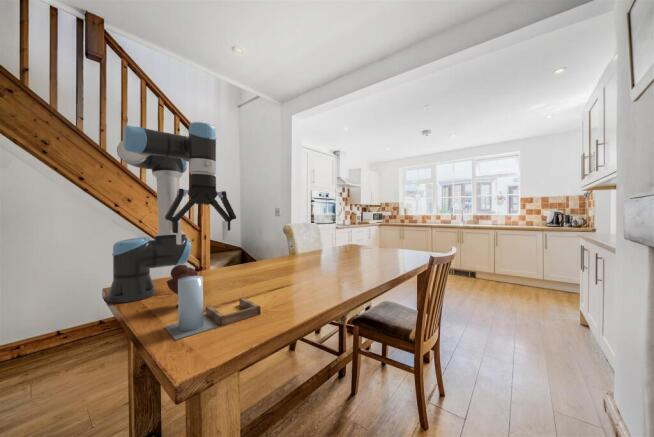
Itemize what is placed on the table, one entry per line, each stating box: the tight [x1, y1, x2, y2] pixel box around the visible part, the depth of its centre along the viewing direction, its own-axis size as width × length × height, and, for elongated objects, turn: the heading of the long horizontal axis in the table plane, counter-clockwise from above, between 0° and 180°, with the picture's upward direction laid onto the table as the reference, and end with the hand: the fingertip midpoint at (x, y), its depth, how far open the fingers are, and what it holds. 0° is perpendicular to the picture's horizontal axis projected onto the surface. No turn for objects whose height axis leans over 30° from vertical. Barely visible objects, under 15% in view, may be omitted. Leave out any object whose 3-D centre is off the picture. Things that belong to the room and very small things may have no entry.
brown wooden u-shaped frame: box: [205, 297, 262, 327], centre depth 84 cm, size 13×13×2 cm
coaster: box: [164, 315, 219, 341], centre depth 74 cm, size 11×11×1 cm
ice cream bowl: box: [166, 264, 199, 309], centre depth 92 cm, size 11×11×15 cm
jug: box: [177, 275, 204, 331], centre depth 75 cm, size 6×9×14 cm
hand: (203, 242), depth 80 cm, fingers open, 13 cm apart
